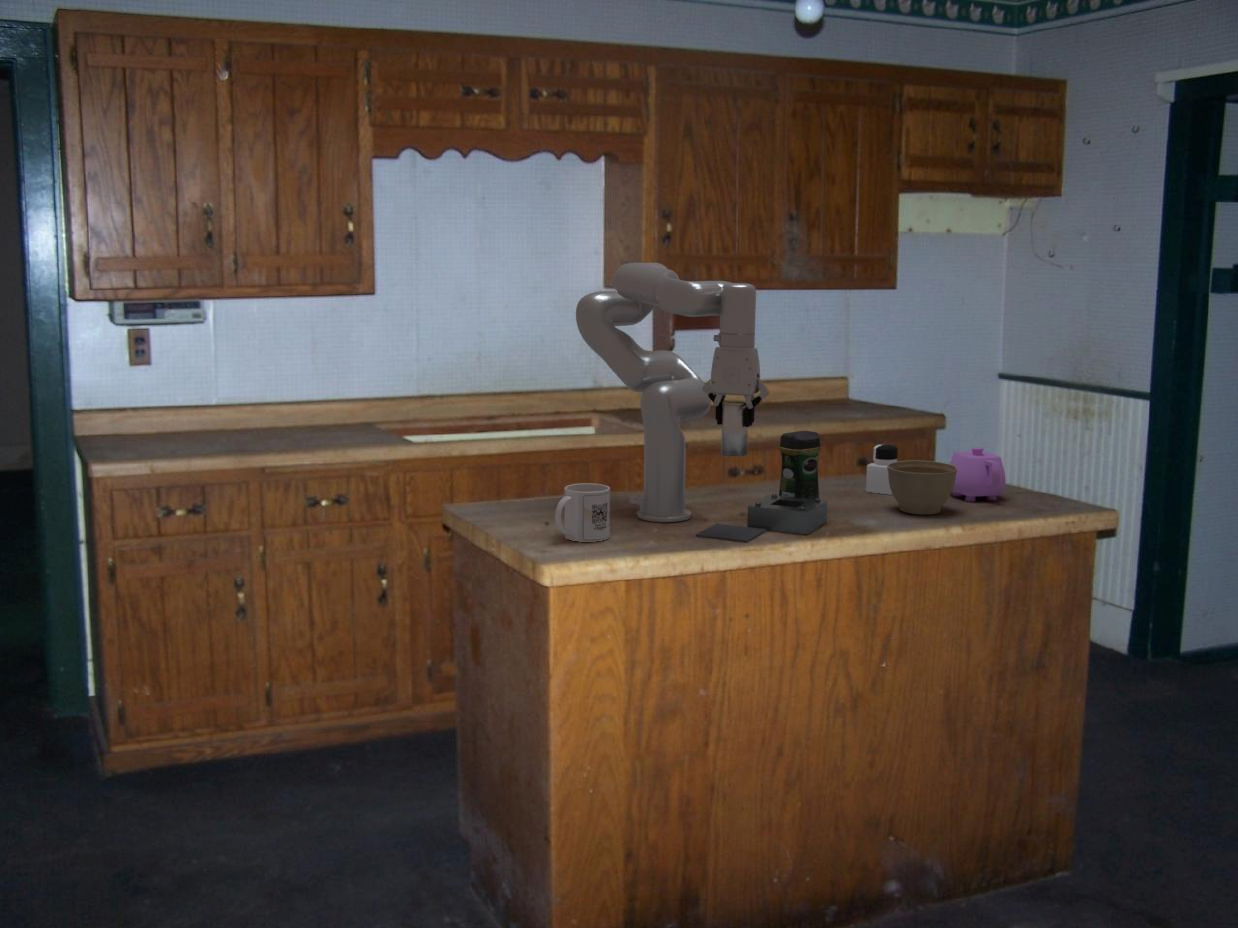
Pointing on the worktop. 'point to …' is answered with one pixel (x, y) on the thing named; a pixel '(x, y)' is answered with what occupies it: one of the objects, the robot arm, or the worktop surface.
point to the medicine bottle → (880, 469)
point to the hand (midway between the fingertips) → (734, 424)
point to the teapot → (978, 474)
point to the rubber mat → (731, 532)
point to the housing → (787, 514)
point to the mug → (585, 512)
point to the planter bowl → (921, 485)
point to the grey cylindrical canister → (734, 428)
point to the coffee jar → (799, 464)
